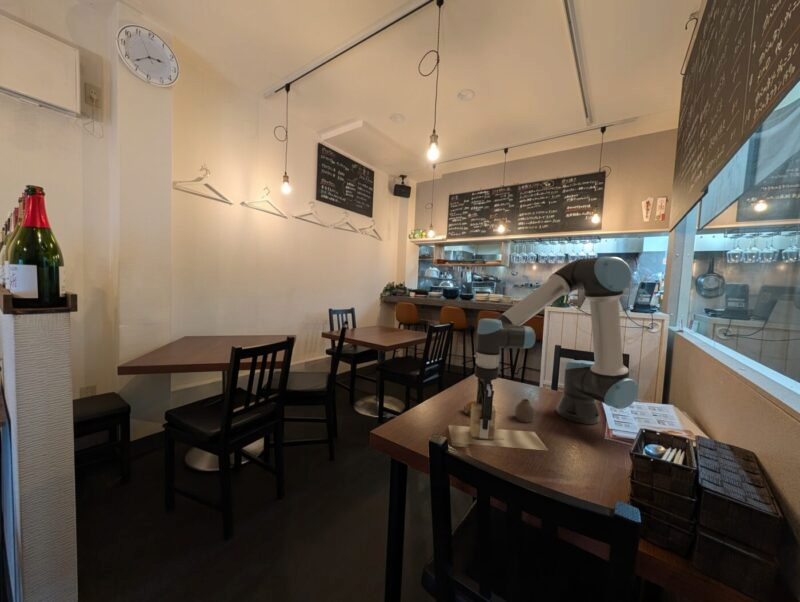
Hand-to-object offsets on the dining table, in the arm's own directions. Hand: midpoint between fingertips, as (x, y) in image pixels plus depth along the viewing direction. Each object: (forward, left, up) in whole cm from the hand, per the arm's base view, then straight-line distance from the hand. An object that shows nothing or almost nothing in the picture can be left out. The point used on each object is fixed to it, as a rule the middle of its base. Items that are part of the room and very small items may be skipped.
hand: (481, 433), depth 104 cm
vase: (-20, -16, -2) cm, 26 cm away
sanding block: (0, 0, -1) cm, 1 cm away
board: (-5, 0, -2) cm, 5 cm away
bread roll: (-2, -18, -2) cm, 19 cm away
